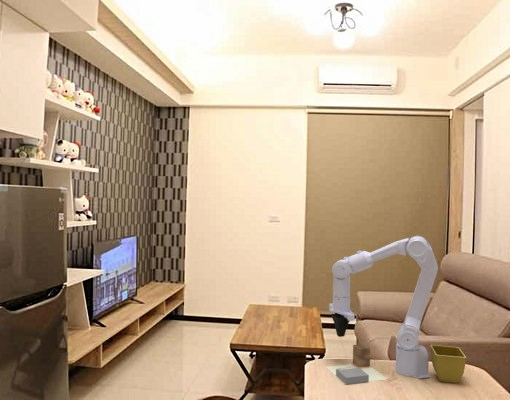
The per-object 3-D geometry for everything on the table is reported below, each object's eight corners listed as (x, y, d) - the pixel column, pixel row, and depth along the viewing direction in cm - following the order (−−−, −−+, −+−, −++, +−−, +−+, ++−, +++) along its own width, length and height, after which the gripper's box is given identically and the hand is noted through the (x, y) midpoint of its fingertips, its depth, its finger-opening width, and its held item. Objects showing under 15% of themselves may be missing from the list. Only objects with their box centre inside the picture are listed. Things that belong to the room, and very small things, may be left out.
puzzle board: (363, 363, 144) (363, 360, 144) (387, 382, 130) (387, 378, 130) (323, 368, 140) (323, 364, 140) (344, 387, 126) (344, 383, 126)
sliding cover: (357, 372, 134) (357, 366, 134) (368, 381, 128) (368, 374, 128) (336, 375, 132) (336, 368, 132) (346, 384, 126) (346, 377, 126)
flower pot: (466, 387, 128) (466, 357, 127) (435, 384, 129) (435, 354, 129) (458, 374, 136) (459, 346, 136) (429, 372, 138) (430, 344, 138)
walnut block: (363, 361, 143) (363, 343, 142) (369, 366, 139) (370, 348, 139) (352, 362, 141) (353, 344, 141) (358, 367, 138) (359, 349, 138)
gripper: (321, 291, 149) (320, 330, 149) (340, 301, 135) (339, 344, 135) (339, 290, 151) (339, 328, 151) (360, 300, 137) (359, 342, 137)
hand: (340, 336), depth 143 cm, fingers closed
